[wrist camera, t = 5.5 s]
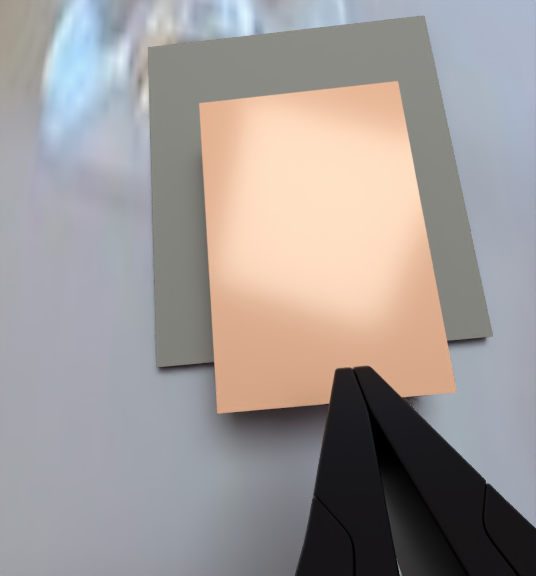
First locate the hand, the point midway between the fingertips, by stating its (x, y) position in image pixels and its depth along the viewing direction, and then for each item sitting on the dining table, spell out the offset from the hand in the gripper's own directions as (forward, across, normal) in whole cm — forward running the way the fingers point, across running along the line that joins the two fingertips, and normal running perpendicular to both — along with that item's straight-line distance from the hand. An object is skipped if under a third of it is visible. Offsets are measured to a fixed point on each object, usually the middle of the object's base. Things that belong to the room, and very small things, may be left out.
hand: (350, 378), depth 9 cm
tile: (+3, 0, +4) cm, 5 cm away
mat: (+11, 0, -2) cm, 11 cm away
